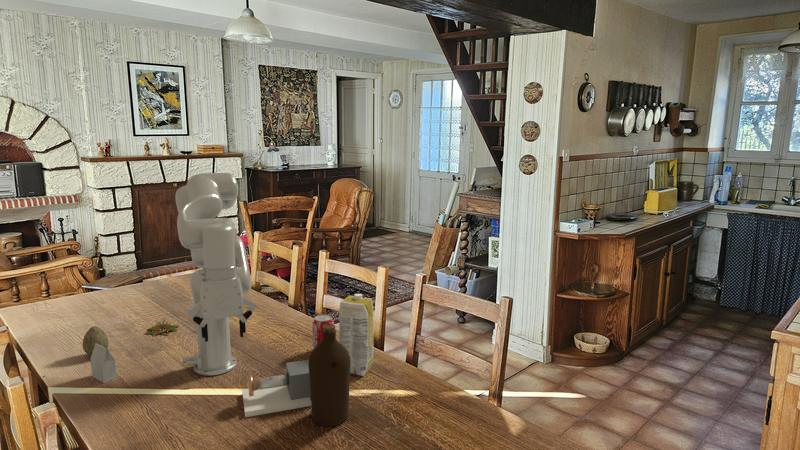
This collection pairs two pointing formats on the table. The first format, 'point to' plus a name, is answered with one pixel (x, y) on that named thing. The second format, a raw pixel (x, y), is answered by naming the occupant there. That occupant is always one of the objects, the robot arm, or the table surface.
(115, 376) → the grey angular block
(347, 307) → the juice carton
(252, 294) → the table surface
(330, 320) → the soda can
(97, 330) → the decorative egg
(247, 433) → the table surface
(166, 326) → the green leafy plant
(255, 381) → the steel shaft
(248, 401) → the bearing board
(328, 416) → the olive oil
